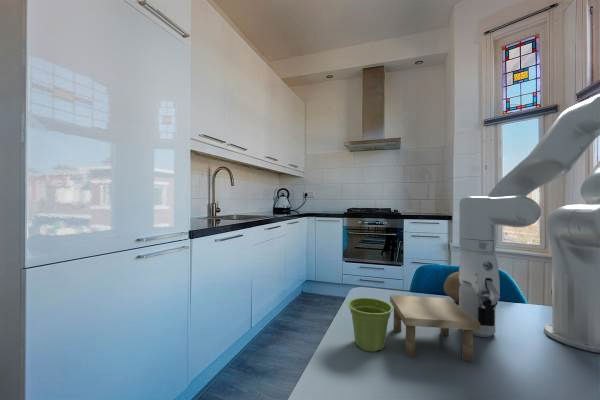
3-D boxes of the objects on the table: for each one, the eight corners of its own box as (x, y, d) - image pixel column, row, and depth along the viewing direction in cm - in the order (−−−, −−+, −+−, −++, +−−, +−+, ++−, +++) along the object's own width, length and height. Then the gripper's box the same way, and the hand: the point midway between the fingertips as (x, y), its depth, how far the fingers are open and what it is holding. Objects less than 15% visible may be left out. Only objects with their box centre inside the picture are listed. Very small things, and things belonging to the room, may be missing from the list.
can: (502, 340, 61) (502, 288, 62) (466, 336, 63) (466, 285, 63) (486, 326, 69) (486, 279, 69) (454, 323, 70) (454, 277, 70)
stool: (448, 331, 65) (448, 298, 66) (479, 364, 52) (479, 322, 52) (389, 327, 67) (390, 295, 67) (404, 358, 53) (405, 317, 53)
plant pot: (391, 361, 52) (392, 316, 52) (343, 351, 55) (344, 309, 56) (392, 339, 61) (393, 300, 61) (351, 331, 64) (351, 295, 64)
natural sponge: (478, 311, 79) (479, 277, 79) (444, 305, 83) (444, 273, 83) (474, 301, 87) (474, 270, 87) (443, 297, 91) (443, 267, 91)
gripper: (517, 252, 57) (517, 335, 57) (474, 242, 74) (474, 305, 74) (479, 251, 58) (479, 333, 58) (445, 241, 75) (445, 304, 75)
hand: (476, 317), depth 66 cm, fingers closed on can, 7 cm apart
